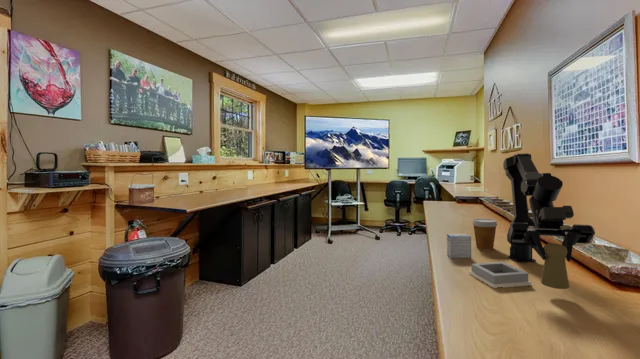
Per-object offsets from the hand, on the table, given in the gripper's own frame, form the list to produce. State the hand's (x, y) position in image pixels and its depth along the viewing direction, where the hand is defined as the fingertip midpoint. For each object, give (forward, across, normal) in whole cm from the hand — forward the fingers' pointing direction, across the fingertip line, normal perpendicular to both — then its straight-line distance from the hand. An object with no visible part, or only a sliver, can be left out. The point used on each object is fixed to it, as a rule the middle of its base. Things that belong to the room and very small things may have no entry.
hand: (556, 260), depth 80 cm
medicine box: (-15, -22, +31) cm, 41 cm away
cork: (+4, 0, +6) cm, 7 cm away
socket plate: (0, -12, +15) cm, 19 cm away
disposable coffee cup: (-26, -11, +42) cm, 51 cm away
